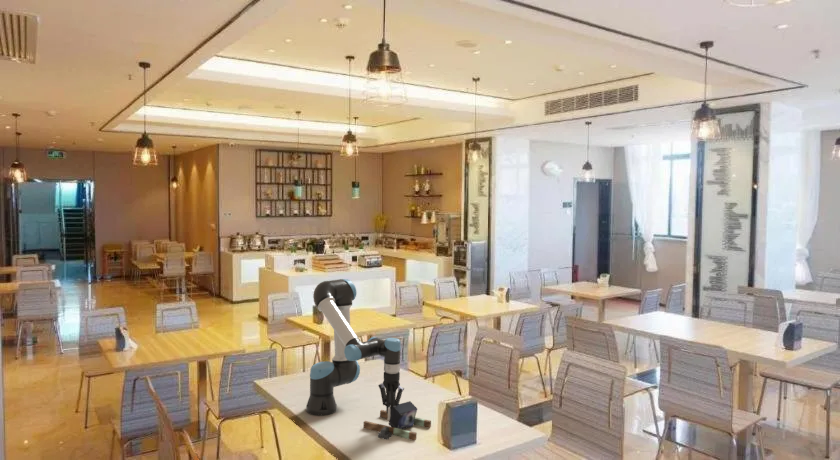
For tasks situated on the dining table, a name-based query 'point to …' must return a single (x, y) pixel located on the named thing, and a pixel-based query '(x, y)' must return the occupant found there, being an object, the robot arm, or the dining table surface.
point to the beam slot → (395, 430)
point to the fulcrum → (385, 433)
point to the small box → (403, 415)
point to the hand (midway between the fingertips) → (390, 420)
